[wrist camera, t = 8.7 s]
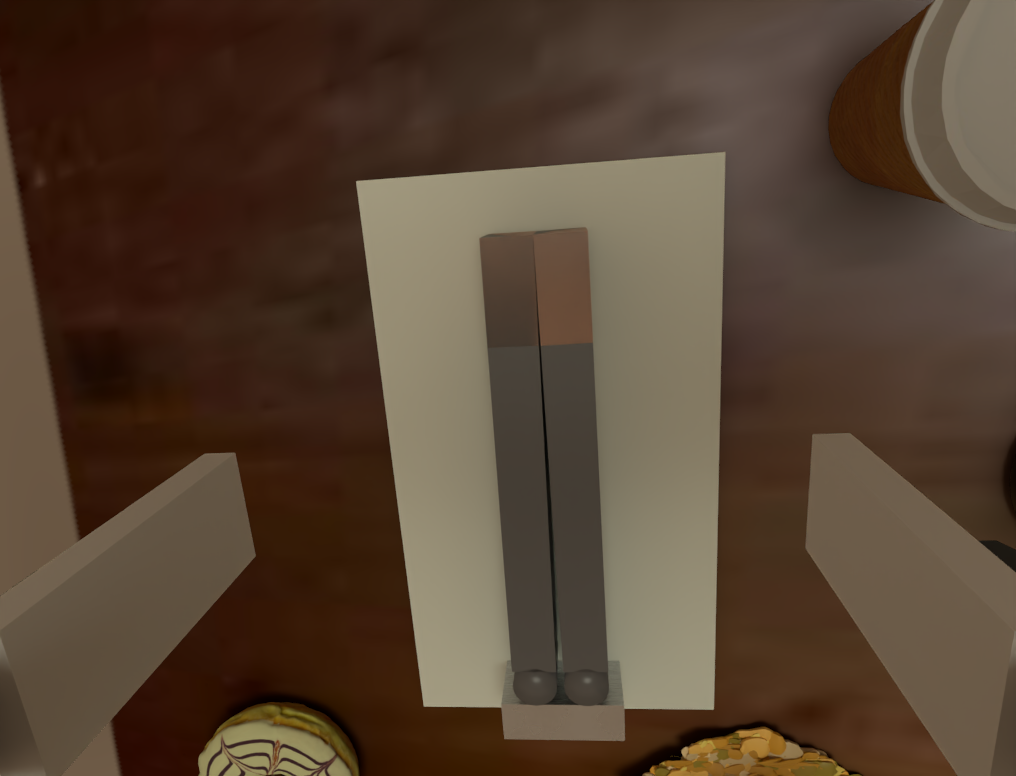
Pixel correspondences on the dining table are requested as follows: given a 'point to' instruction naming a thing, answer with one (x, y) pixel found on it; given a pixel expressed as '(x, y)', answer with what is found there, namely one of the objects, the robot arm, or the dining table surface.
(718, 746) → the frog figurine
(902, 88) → the disposable coffee cup
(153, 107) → the dining table surface
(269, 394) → the dining table surface
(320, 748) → the decorated donut
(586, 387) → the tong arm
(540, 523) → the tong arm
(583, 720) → the tong hinge cap
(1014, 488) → the beer bottle
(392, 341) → the tong mat
